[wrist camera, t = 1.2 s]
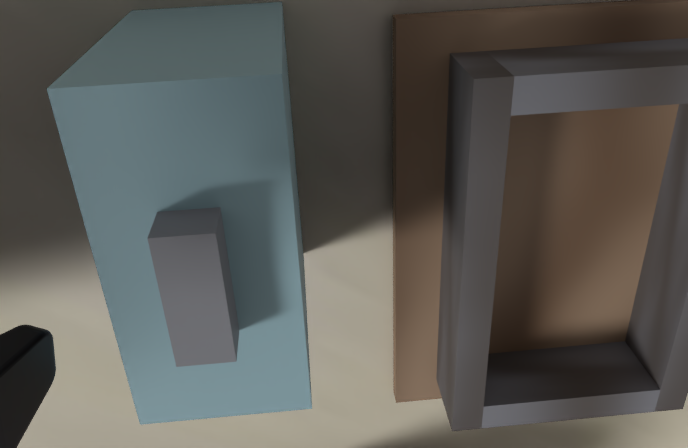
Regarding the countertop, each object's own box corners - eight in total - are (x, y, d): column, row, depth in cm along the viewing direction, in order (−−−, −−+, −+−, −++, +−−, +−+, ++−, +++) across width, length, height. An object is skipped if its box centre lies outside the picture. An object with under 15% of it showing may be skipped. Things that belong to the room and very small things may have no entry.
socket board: (393, 391, 24) (407, 456, 22) (392, 14, 17) (413, 41, 15) (670, 365, 25) (717, 425, 22) (775, -8, 18) (862, 13, 15)
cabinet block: (181, 261, 21) (131, 459, 14) (132, 9, 17) (25, 108, 10) (303, 252, 21) (313, 442, 14) (281, 1, 17) (282, 91, 10)
